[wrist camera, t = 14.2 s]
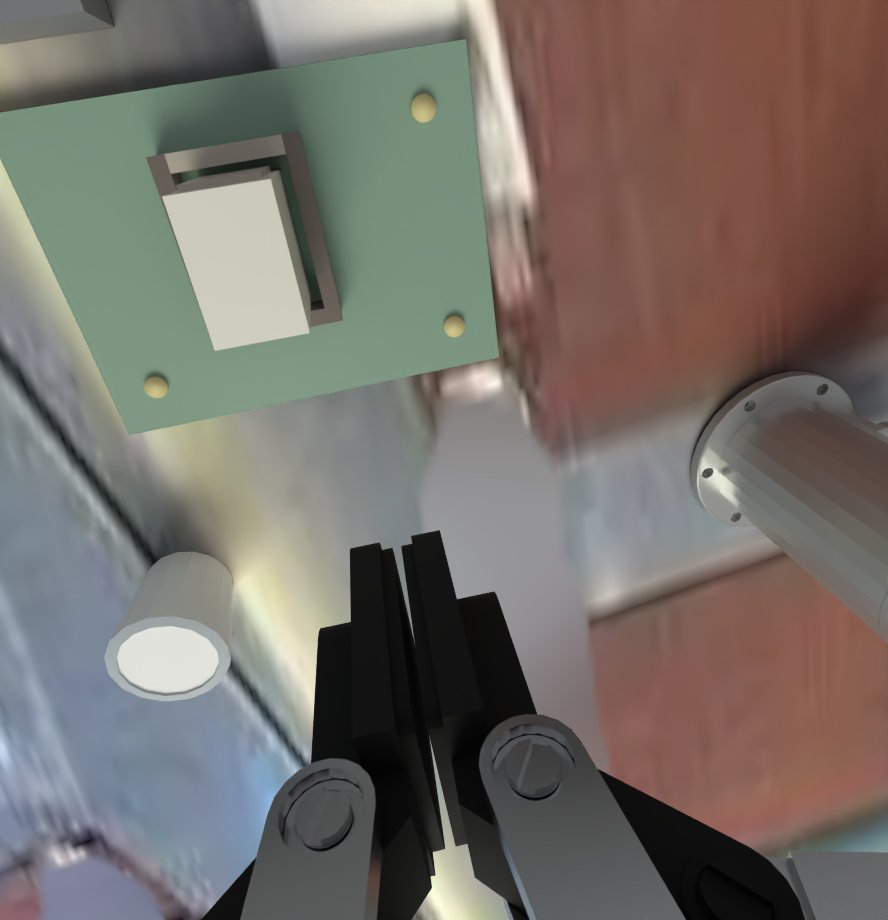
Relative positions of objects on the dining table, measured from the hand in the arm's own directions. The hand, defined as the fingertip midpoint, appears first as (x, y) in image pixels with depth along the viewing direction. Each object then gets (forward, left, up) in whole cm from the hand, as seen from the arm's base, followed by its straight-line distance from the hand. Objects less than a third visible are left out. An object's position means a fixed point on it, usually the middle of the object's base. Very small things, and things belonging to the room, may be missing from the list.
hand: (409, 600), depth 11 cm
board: (+3, -3, -26) cm, 26 cm away
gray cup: (+15, +17, -26) cm, 35 cm away
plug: (+4, -4, -25) cm, 25 cm away
